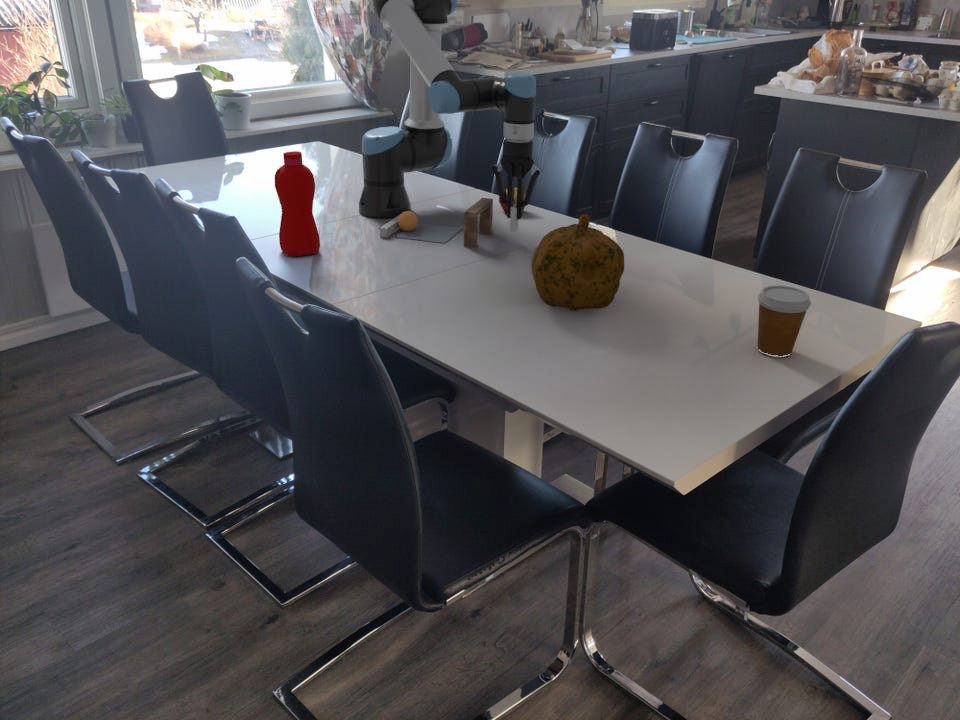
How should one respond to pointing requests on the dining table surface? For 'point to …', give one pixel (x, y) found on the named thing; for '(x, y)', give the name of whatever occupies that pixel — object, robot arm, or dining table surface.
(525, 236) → the dining table surface
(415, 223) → the ball
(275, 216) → the dining table surface
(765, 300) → the disposable coffee cup
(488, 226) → the bridge
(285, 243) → the water bottle
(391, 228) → the wall
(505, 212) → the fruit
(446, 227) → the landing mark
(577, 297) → the decorative pumpkin
